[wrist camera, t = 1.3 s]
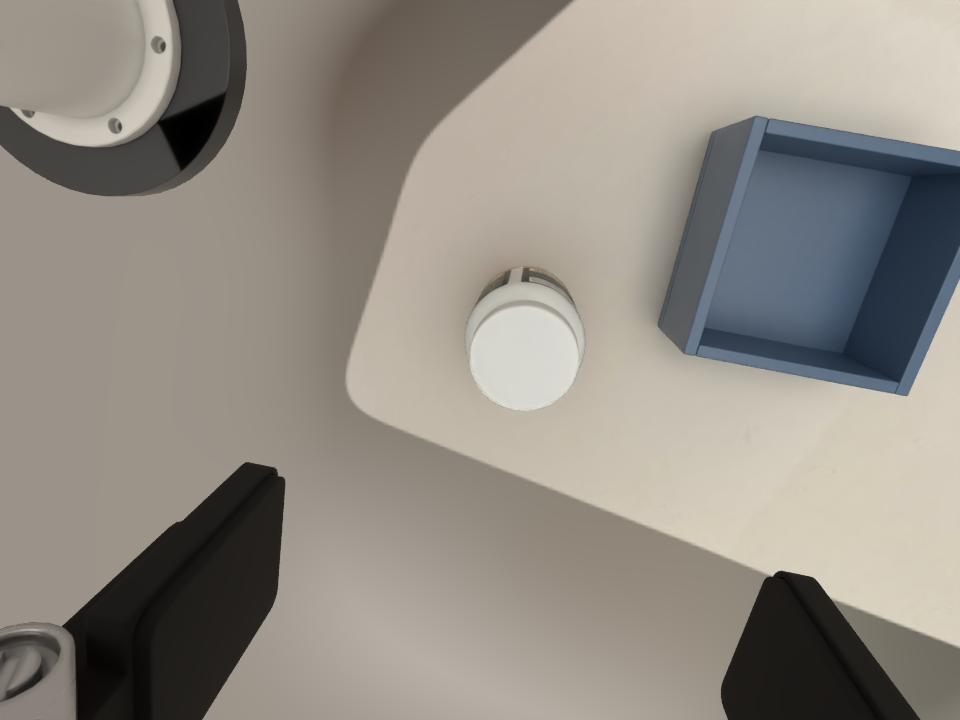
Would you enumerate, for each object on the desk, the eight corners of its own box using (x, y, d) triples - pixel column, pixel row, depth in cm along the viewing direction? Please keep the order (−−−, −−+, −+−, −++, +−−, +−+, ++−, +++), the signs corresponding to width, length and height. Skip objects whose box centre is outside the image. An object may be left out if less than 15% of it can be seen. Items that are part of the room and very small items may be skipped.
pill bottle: (496, 370, 33) (481, 439, 24) (464, 282, 32) (435, 318, 22) (586, 342, 32) (608, 403, 23) (558, 250, 31) (568, 274, 21)
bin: (656, 326, 32) (683, 353, 26) (711, 131, 28) (755, 115, 23) (841, 361, 31) (907, 396, 26) (918, 167, 28) (1013, 160, 22)
